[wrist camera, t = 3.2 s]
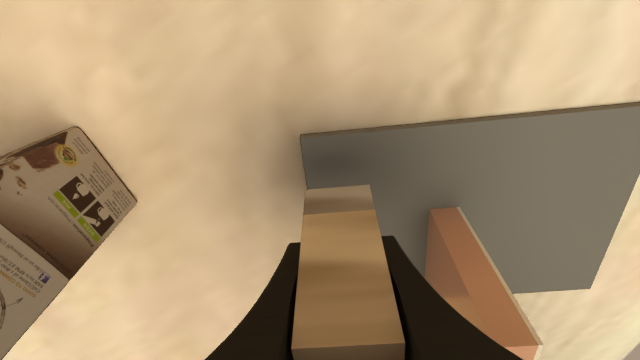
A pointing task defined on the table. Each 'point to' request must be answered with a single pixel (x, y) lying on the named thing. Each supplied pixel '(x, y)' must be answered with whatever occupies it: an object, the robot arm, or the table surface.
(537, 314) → the table surface
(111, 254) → the table surface
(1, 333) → the coffee box
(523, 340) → the tile
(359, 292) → the wooden block
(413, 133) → the mat
